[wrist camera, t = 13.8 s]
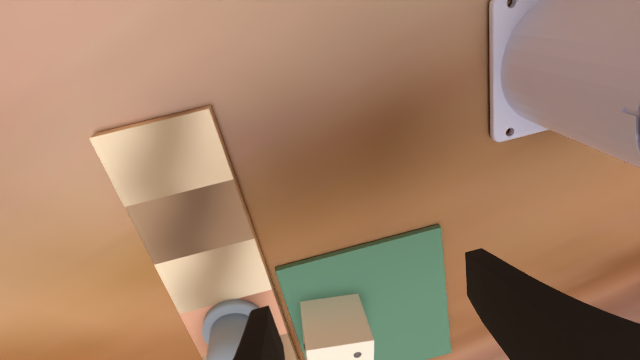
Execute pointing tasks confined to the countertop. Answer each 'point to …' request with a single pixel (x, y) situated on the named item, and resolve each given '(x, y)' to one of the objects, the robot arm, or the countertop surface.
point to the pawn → (226, 327)
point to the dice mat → (382, 291)
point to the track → (190, 215)
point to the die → (336, 329)
